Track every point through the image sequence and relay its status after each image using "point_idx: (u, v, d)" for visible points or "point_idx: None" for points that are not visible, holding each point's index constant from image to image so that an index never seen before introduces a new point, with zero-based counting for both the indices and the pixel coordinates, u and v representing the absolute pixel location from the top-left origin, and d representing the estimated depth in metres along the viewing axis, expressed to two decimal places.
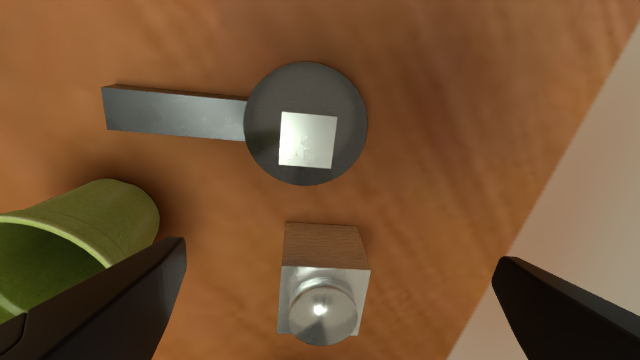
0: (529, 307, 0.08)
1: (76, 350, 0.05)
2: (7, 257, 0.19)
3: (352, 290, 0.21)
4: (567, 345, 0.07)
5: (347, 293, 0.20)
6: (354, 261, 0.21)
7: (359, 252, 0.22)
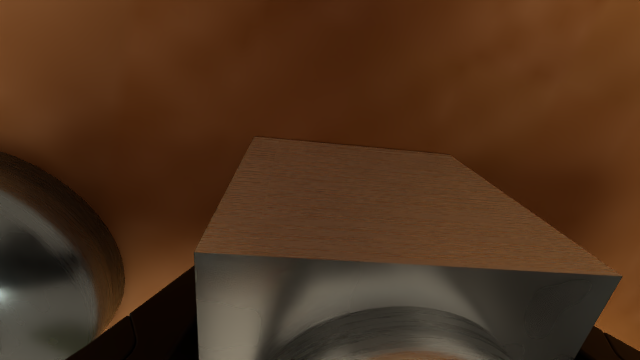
0: None
1: (184, 353, 0.05)
2: None
3: (327, 317, 0.04)
4: None
5: None
6: None
7: None
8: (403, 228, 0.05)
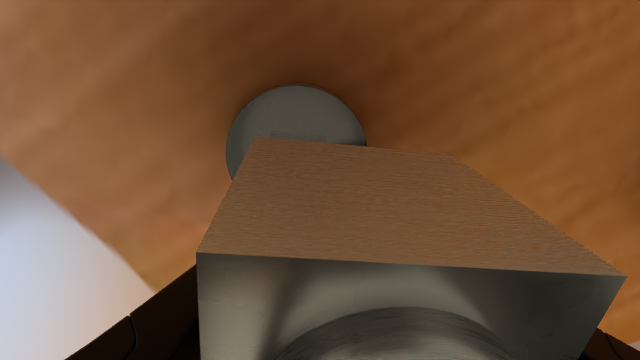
0: None
1: (184, 353, 0.05)
2: None
3: (330, 317, 0.04)
4: None
5: None
6: None
7: None
8: (406, 228, 0.05)
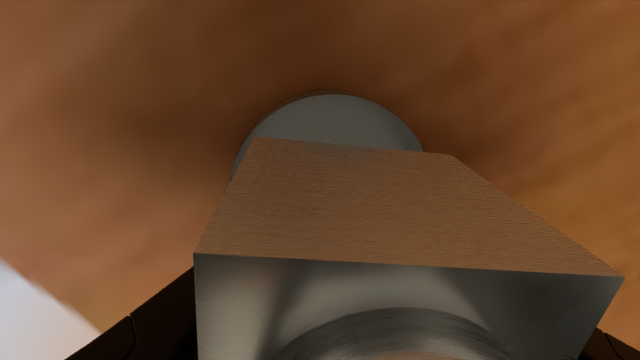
0: None
1: (183, 353, 0.05)
2: None
3: (327, 318, 0.04)
4: None
5: None
6: None
7: None
8: (404, 228, 0.05)
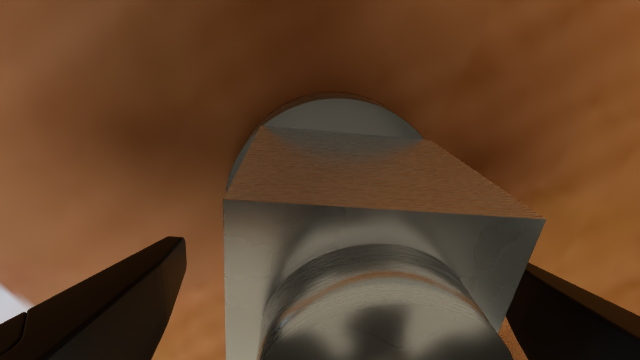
0: (529, 307, 0.08)
1: (76, 350, 0.05)
2: None
3: (322, 252, 0.06)
4: (567, 345, 0.07)
5: (287, 312, 0.05)
6: None
7: None
8: (381, 188, 0.06)
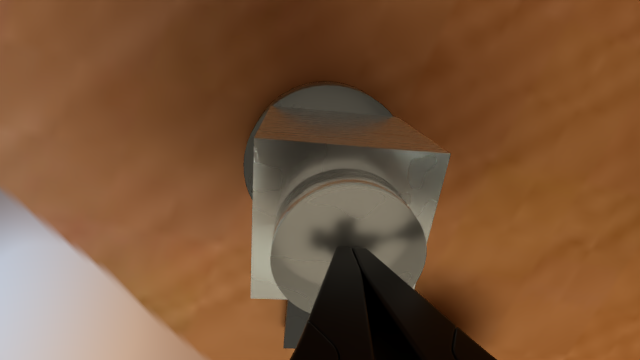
0: None
1: None
2: None
3: (313, 173, 0.09)
4: (372, 339, 0.07)
5: (291, 203, 0.09)
6: None
7: None
8: (351, 137, 0.10)
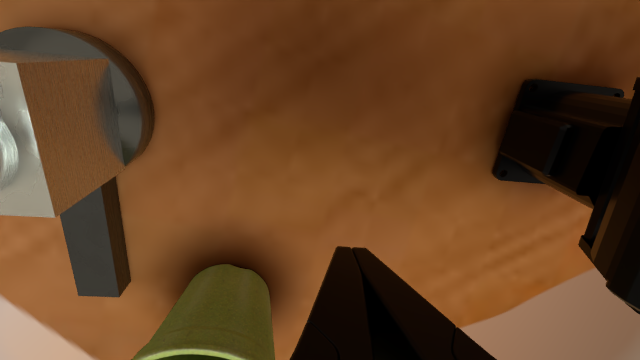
0: None
1: None
2: None
3: None
4: (372, 339, 0.06)
5: None
6: None
7: None
8: None
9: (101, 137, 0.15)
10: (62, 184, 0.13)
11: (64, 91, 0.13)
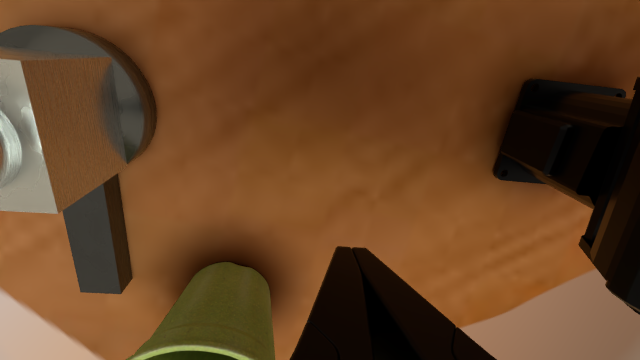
0: None
1: None
2: None
3: None
4: (372, 339, 0.07)
5: None
6: None
7: None
8: None
9: (103, 135, 0.15)
10: (65, 181, 0.13)
11: (68, 89, 0.13)
